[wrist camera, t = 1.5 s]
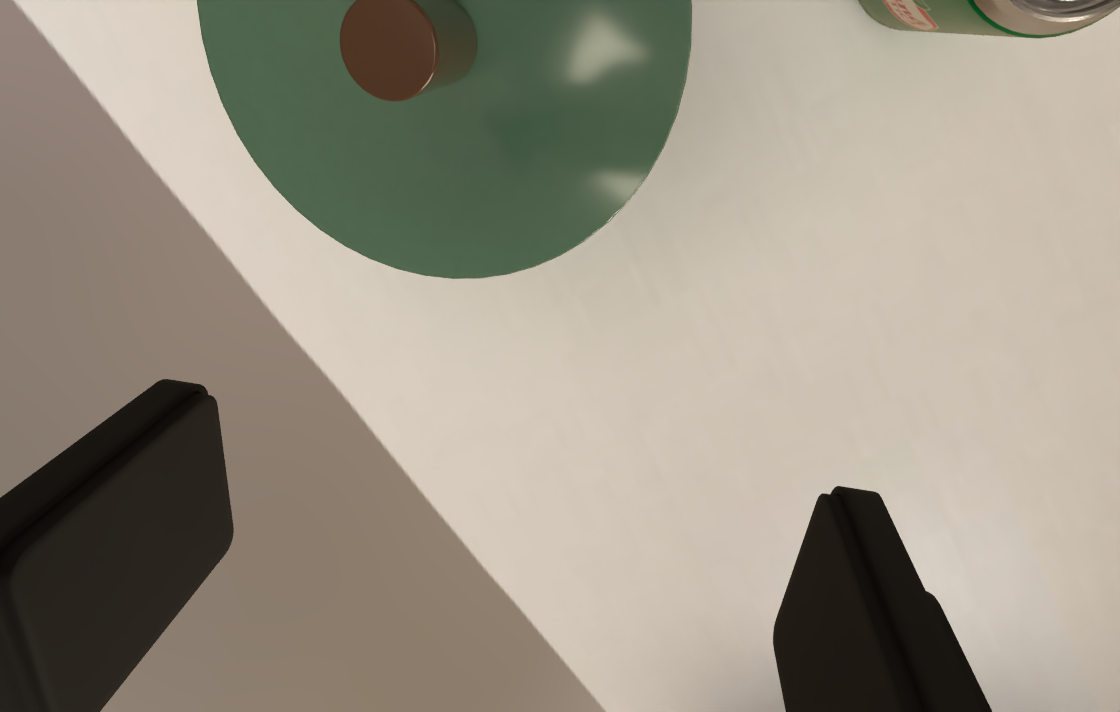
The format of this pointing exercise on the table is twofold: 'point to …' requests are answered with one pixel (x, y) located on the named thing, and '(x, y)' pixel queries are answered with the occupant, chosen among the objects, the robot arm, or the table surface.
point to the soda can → (990, 16)
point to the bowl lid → (452, 118)
